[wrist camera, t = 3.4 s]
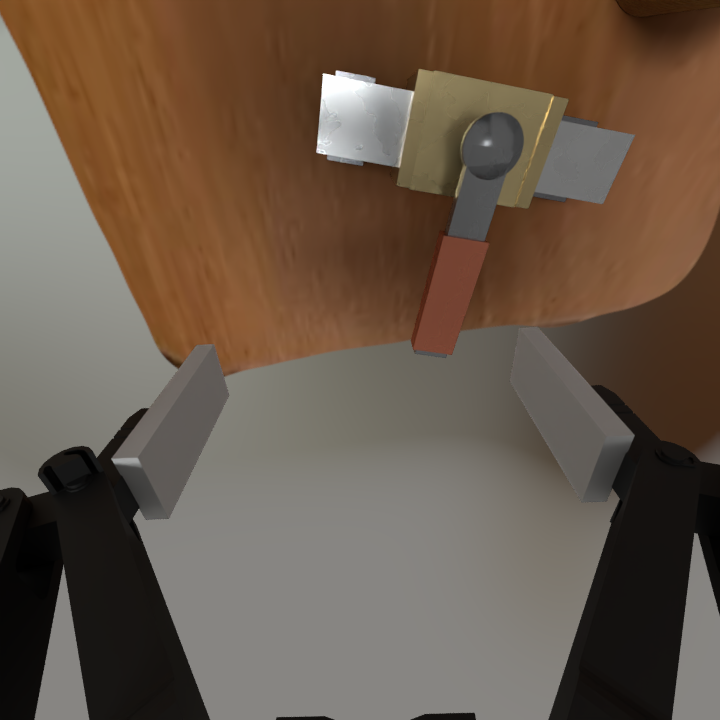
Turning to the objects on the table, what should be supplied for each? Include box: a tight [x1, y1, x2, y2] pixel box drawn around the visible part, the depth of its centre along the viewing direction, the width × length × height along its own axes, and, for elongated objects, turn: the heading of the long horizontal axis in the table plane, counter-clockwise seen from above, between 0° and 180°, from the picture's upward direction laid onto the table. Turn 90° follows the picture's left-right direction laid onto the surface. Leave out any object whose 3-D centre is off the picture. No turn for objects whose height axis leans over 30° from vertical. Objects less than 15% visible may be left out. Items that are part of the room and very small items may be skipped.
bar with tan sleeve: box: [316, 69, 635, 209], centre depth 28 cm, size 22×7×10 cm, turn 81°
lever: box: [411, 112, 524, 358], centre depth 27 cm, size 17×4×2 cm, turn 171°
